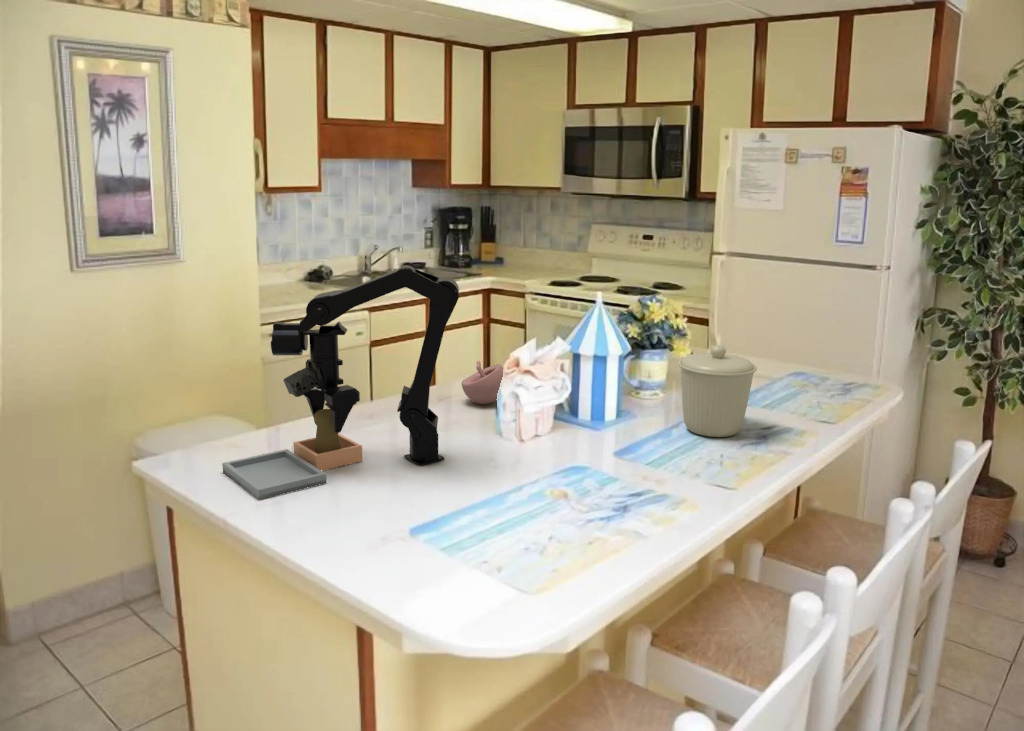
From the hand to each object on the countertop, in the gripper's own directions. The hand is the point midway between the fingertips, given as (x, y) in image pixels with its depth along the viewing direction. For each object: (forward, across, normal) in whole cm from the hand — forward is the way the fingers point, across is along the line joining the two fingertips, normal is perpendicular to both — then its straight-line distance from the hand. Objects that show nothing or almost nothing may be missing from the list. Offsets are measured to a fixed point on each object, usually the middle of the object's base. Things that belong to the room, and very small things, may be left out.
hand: (327, 427), depth 180 cm
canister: (+8, +37, +82) cm, 91 cm away
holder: (+7, 0, 0) cm, 7 cm away
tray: (+7, +3, -14) cm, 16 cm away
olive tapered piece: (+8, 0, 0) cm, 8 cm away
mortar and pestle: (+8, -14, +52) cm, 55 cm away
